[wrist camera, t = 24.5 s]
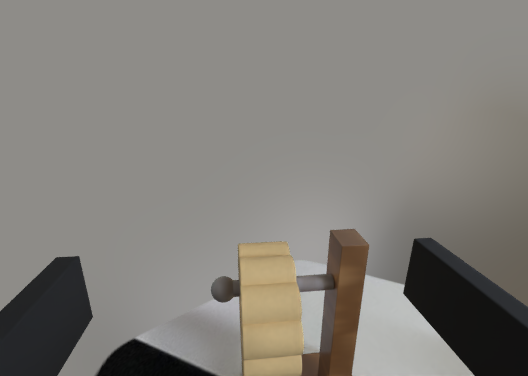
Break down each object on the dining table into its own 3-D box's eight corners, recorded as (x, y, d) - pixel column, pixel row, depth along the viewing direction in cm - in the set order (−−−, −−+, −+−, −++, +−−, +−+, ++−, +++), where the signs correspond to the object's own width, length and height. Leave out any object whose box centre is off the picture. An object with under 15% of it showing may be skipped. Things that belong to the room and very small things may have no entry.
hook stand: (217, 474, 26) (202, 281, 19) (220, 371, 35) (211, 219, 29) (378, 451, 27) (415, 267, 21) (340, 359, 37) (357, 213, 30)
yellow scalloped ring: (244, 419, 23) (241, 302, 19) (239, 311, 34) (237, 222, 30) (299, 412, 23) (307, 297, 19) (276, 308, 34) (279, 220, 30)
